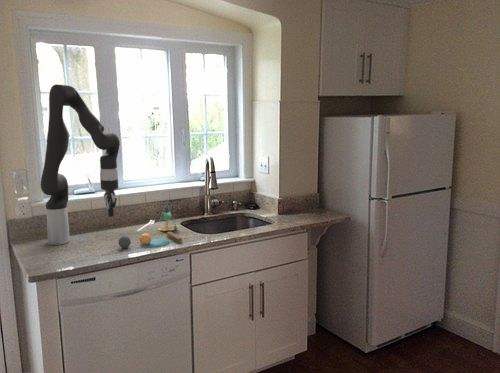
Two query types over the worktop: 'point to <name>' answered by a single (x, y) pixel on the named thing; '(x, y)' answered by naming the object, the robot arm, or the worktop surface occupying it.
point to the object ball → (145, 239)
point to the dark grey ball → (124, 242)
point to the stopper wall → (174, 237)
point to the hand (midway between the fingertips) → (110, 216)
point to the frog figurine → (167, 217)
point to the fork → (146, 225)
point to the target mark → (156, 243)
